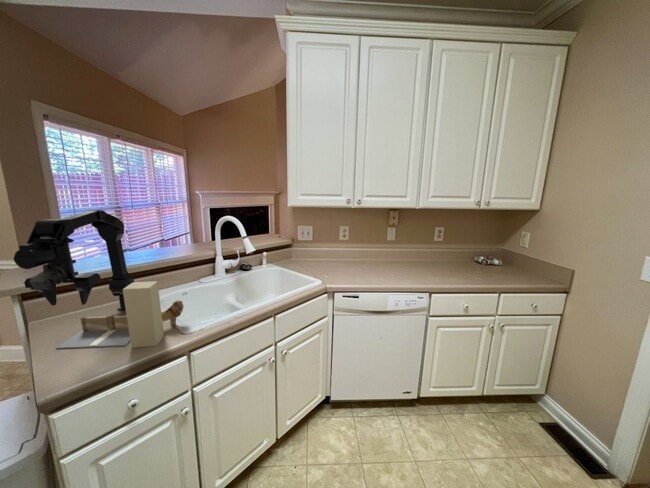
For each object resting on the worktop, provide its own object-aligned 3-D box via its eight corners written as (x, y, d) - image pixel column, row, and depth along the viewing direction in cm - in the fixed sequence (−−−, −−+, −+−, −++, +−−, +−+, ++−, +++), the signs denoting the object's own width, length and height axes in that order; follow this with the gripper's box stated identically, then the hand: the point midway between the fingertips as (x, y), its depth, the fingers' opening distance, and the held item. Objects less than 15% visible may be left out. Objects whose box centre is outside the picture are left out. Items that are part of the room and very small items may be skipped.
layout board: (97, 320, 107) (97, 319, 107) (154, 319, 109) (154, 317, 109) (56, 348, 89) (56, 347, 89) (125, 345, 91) (124, 344, 91)
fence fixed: (112, 328, 101) (109, 314, 100) (143, 327, 102) (141, 313, 101) (108, 331, 99) (105, 317, 98) (140, 329, 100) (138, 316, 99)
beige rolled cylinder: (85, 328, 100) (83, 316, 99) (110, 327, 101) (108, 315, 100) (81, 331, 98) (79, 319, 97) (107, 330, 99) (105, 318, 98)
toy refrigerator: (165, 334, 98) (158, 280, 93) (157, 346, 91) (148, 288, 86) (141, 336, 97) (133, 281, 92) (131, 348, 90) (121, 289, 85)
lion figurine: (182, 317, 110) (180, 297, 108) (187, 322, 107) (185, 301, 105) (140, 331, 100) (137, 309, 98) (144, 337, 96) (141, 314, 94)
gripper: (-2, 267, 76) (12, 317, 80) (69, 266, 78) (80, 315, 81) (36, 257, 87) (47, 301, 90) (97, 256, 89) (106, 299, 92)
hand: (69, 304), depth 88 cm, fingers open, 9 cm apart
